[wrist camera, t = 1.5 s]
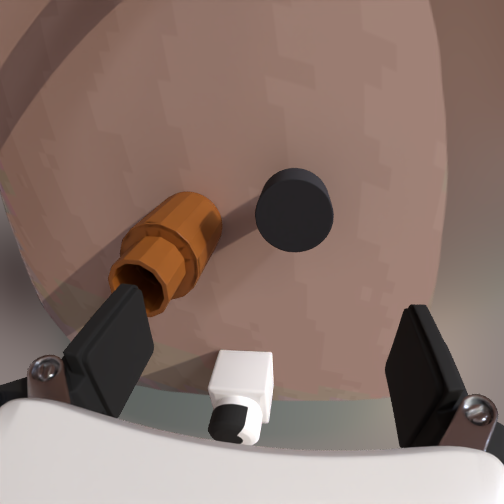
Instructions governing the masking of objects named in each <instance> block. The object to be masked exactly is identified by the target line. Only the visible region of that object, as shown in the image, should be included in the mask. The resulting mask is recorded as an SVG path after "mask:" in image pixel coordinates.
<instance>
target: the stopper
mask: <svg viewBox="0 0 504 504" xmlns="http://www.w3.org/2000/svg"><path fill="white" fill-rule="evenodd" d="M333 215H334V214H333V208H332V204H331V201H330V197H329V194H328V191H327V189H326V186H325V185H324V183H323V182H322V181H321V179H320V178H319V177H318V176H316V175H315V174H313V173H312V172H310V171H307V170H304V169H299V168H290V169H285V170H282V171H280V172H278V173H276V174H274V175H273V176H272V177H271V178H270V179H269V180H268V181H267V182H266V184H265V186H264V188H263V190H262V193H261V195H260V198H259V200H258V203H257V206H256V211H255V219H256V224H257V227H258V230H259V231H260V233H261V235H262V236H263V238H264V239H265V240H266V241H267V242H268V243H270V244H271V245H272V246H274V247H276V248H278V249H280V250H283V251H287V252H303V251H307V250H309V249H312V248H314V247H316V246H317V245H319V244H320V243H321V242H322V241H323V240H324V239H325V238H326V237H327V235H328V234H329V232H330V230H331V227H332V224H333Z"/></svg>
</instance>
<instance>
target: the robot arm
mask: <svg viewBox="0 0 504 504" xmlns="http://www.w3.org/2000/svg"><path fill="white" fill-rule="evenodd" d="M153 350H154V344H153V339H152V335H151V331H150V327H149V322H148V318H147V313H146V309H145V304H144V299H143V294H142V291H141V290H140V289H138V287H137V286H136V285H131V284H120V285H119V286H118V288H117V289H116V290H115V291H114V292H113V293H112V294H111V295H110V297H109V298H108V299H107V300H106V301H105V302H104V303H103V305H102V306H101V307H100V308H99V309H98V310H97V312H96V313H95V314H94V315H93V316H92V317H91V319H90V320H89V321H88V322H87V323H86V325H85V326H84V327H83V328H82V329H81V331H80V332H79V333H78V334H77V335H76V337H75V338H74V339H73V340H72V342H71V343H70V344H69V345H68V347H67V348H66V349H65V350H64V352H63V353H64V356H63V358H62V359H60V358H59V357H57V356H55V355H45V356H42V357H39V358H37V359H36V360H34V361H33V362H32V364H30V366H29V368H28V371H27V377H25V378H22V379H19V380H16V381H13V382H10V383H6V384H3V385H0V504H504V426H503V425H502V424H500V423H498V422H497V419H498V411H497V408H496V406H495V404H494V403H493V402H492V401H491V400H490V399H489V398H487V397H486V396H483V395H480V394H472V395H468V393H467V391H466V389H465V386H464V383H463V381H462V379H461V377H460V374H459V371H458V369H457V367H456V365H455V362H454V360H453V358H452V356H451V353H450V351H449V349H448V347H447V345H446V343H445V342H444V340H443V338H442V336H441V334H440V332H439V330H438V328H437V326H436V324H435V322H434V320H433V318H432V316H431V314H430V312H429V310H428V308H427V306H426V305H412V304H411V305H410V306H409V307H408V309H404V311H403V314H402V317H401V321H400V324H399V327H398V330H397V333H396V336H395V339H394V342H393V345H392V348H391V351H390V354H389V357H388V359H387V362H386V366H385V374H386V378H387V383H388V388H389V392H390V397H391V402H392V407H393V412H394V418H395V423H396V428H397V434H398V440H399V445H400V447H401V448H398V449H382V450H381V449H380V450H346V451H345V450H340V451H338V450H335V451H334V450H331V451H330V450H326V451H325V450H300V449H284V448H271V447H261V446H251V445H243V444H235V443H228V442H221V441H214V440H209V439H203V438H197V437H192V436H187V435H182V434H177V433H172V432H168V431H163V430H159V429H154V428H150V427H146V426H142V425H139V424H135V423H131V422H127V421H124V420H121V419H117V418H118V417H119V415H120V414H121V412H122V410H123V408H124V406H125V404H126V402H127V400H128V398H129V396H130V394H131V393H132V391H133V389H134V387H135V385H136V383H137V381H138V379H139V378H140V376H141V374H142V372H143V370H144V368H145V366H146V365H147V363H148V361H149V359H150V357H151V355H152V353H153Z"/></svg>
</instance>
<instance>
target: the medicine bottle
mask: <svg viewBox="0 0 504 504" xmlns="http://www.w3.org/2000/svg"><path fill="white" fill-rule="evenodd" d="M273 386H274V385H273V361H272V353H271V352H255V351H234V350H220V351H219V353H218V356H217V360H216V363H215V366H214V369H213V372H212V375H211V379H210V382H209V385H208V391H209V395H210V399H211V402H212V406H213V413H212V416H211V420H210V424H209V427H208V432H209V433H210V435H211V436H212V438H213V439H214V440H216V441H221V442H228V443H235V444H243V445H253V444H254V443H256V442H257V441H258V440H259V436H260V429H261V423H268V422H269V417H270V408H271V402H272V394H273Z"/></svg>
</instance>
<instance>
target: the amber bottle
mask: <svg viewBox="0 0 504 504" xmlns="http://www.w3.org/2000/svg"><path fill="white" fill-rule="evenodd" d="M221 234H222V219H221V216H220V213H219V211H218V210H217V208H216V207H215V205H214V204H213V203H212V202H211V201H210V200H209V199H207V198H206V197H204V196H202V195H200V194H198V193H194V192H180V193H177V194H174V195H172V196H171V197H169V198H167V199H166V200H165V201H164V202H162V203H161V204H160V205H159V206H157V207H156V208H155V209H154V210H153V211H151V212H150V213H149V214H148V215H147V216H145V217H144V218H143V219H142V220H141V221H140V222H138V223H137V224H136V225H135V226H134V227H133V228H131V229H130V231H129V232H128V233H127V234H126V236H125V237H124V238H123V240H122V245H121V250H120V258H119V259H118V260H117V261H116V262H115V263H114V264H113V265H112V267H111V270H110V273H109V276H108V281H109V285H110V289H111V293H113V292H114V291H115V290H116V289H117V288H118V286H119V285H120V284H131V285H136V286H137V287H138V289H140V290H141V291H142V294H143V299H144V304H145V309H146V313H147V317H153V316H155V315H158V314H160V313H162V312H164V310H165V309H166V307H167V305H168V304H169V302H170V300H172V299H176V298H179V297H183V296H185V295H186V294H187V293H188V292H189V291H191V290H192V289H193V288H194V286H195V285H196V283H197V281H198V279H199V277H200V275H201V273H202V272H203V270H204V268H205V266H206V264H207V262H208V260H209V259H210V257H211V255H212V253H213V251H214V249H215V247H216V246H217V244H218V241H219V239H220V237H221Z"/></svg>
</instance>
